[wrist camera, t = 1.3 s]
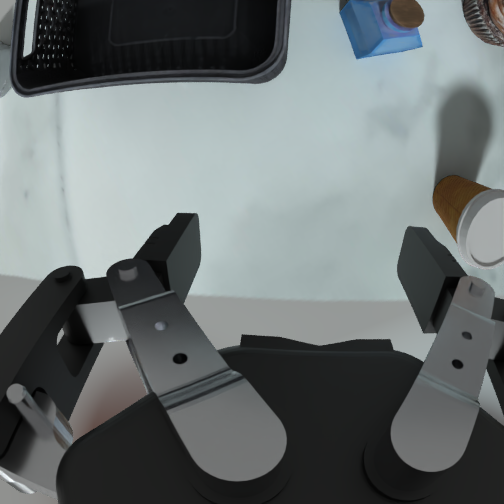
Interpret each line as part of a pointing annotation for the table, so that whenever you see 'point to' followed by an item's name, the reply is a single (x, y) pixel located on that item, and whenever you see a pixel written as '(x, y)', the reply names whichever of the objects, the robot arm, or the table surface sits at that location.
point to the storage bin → (148, 43)
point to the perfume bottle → (382, 26)
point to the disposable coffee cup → (473, 219)
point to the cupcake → (486, 19)
